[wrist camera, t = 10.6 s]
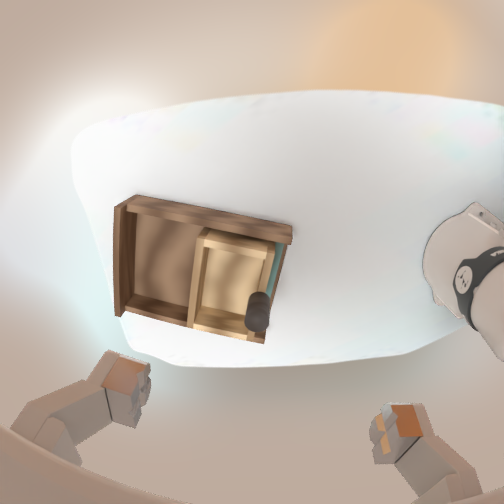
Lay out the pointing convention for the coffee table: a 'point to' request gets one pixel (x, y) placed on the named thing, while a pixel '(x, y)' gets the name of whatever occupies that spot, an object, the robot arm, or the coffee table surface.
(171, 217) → the bay
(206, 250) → the crate
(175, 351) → the coffee table surface
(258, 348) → the coffee table surface
